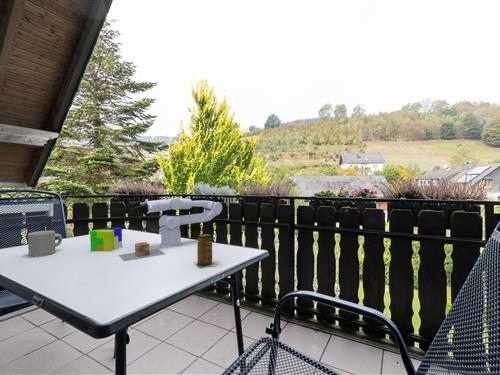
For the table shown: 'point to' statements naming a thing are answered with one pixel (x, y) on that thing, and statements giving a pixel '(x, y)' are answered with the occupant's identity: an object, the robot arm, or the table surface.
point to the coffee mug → (42, 243)
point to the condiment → (204, 251)
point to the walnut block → (142, 249)
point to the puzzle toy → (106, 239)
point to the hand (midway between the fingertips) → (128, 209)
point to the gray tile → (132, 256)
